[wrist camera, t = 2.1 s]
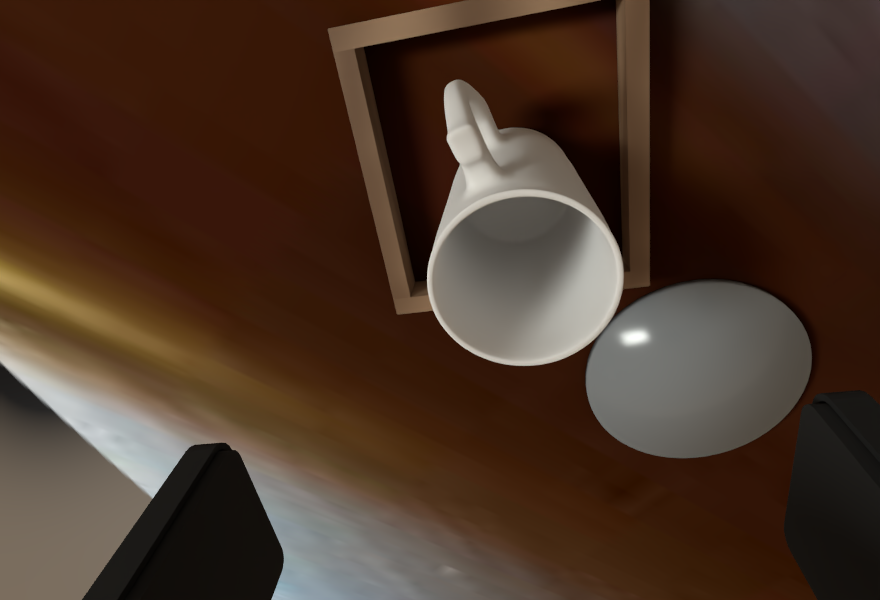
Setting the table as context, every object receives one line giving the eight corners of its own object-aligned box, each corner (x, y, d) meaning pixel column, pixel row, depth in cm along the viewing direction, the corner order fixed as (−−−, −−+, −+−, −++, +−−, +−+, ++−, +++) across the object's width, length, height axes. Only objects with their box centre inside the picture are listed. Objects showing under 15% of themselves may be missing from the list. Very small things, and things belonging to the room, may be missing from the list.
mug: (594, 217, 30) (648, 331, 19) (481, 261, 32) (474, 388, 21) (527, 31, 26) (549, 48, 15) (402, 94, 28) (345, 147, 17)
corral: (638, -34, 24) (649, -37, 22) (640, 270, 31) (649, 286, 29) (338, 27, 26) (327, 28, 25) (402, 298, 33) (397, 314, 31)
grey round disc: (821, 265, 30) (826, 270, 29) (793, 444, 36) (797, 451, 35) (579, 293, 32) (580, 297, 31) (590, 457, 38) (591, 464, 37)
